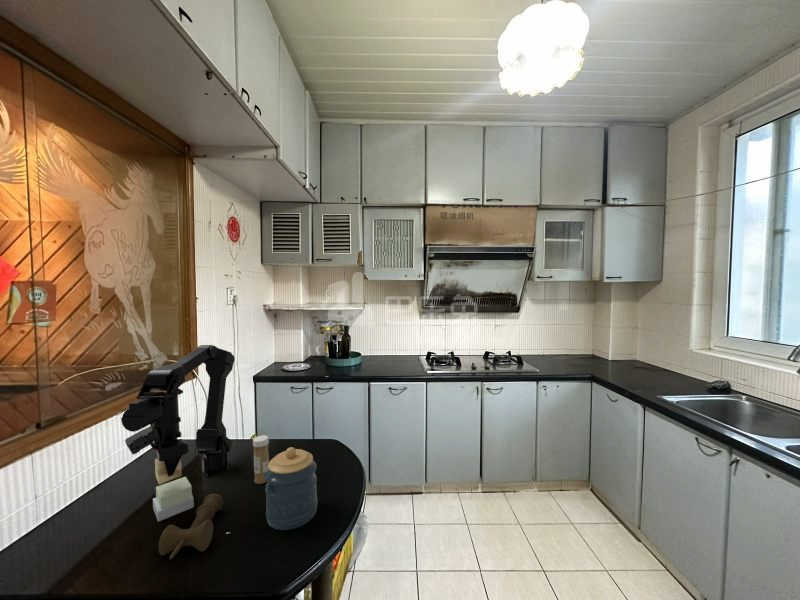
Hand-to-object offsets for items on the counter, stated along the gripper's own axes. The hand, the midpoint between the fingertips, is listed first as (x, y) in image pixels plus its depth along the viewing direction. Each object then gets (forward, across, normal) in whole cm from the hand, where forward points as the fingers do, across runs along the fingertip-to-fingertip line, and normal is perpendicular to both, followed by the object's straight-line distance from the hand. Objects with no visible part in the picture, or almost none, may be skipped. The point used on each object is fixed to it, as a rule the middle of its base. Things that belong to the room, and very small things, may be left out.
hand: (168, 471), depth 88 cm
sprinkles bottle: (+11, +4, +23) cm, 26 cm away
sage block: (+8, -1, +1) cm, 8 cm away
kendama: (+11, +17, +2) cm, 20 cm away
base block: (+11, -1, +1) cm, 11 cm away
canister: (+11, +26, +22) cm, 36 cm away
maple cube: (+1, 0, 0) cm, 1 cm away
